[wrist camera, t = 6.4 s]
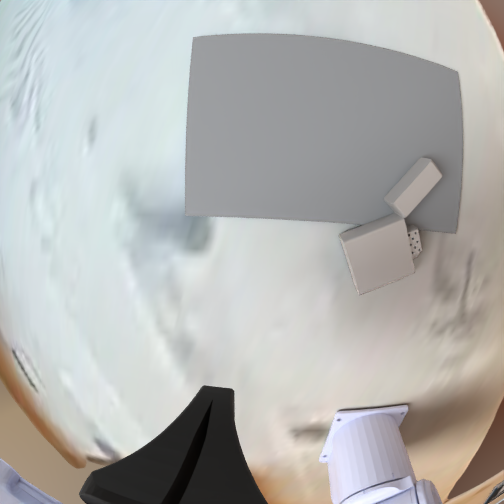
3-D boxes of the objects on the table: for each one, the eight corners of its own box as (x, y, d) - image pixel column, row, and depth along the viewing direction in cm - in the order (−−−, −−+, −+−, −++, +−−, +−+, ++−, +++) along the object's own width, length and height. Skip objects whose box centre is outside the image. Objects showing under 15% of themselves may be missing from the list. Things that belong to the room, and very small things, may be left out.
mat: (453, 232, 18) (455, 233, 18) (187, 214, 19) (185, 215, 19) (455, 72, 14) (457, 71, 14) (194, 39, 16) (193, 37, 15)
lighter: (354, 284, 20) (445, 246, 18) (359, 296, 18) (456, 254, 16) (323, 192, 18) (426, 155, 16) (328, 197, 16) (439, 157, 14)
